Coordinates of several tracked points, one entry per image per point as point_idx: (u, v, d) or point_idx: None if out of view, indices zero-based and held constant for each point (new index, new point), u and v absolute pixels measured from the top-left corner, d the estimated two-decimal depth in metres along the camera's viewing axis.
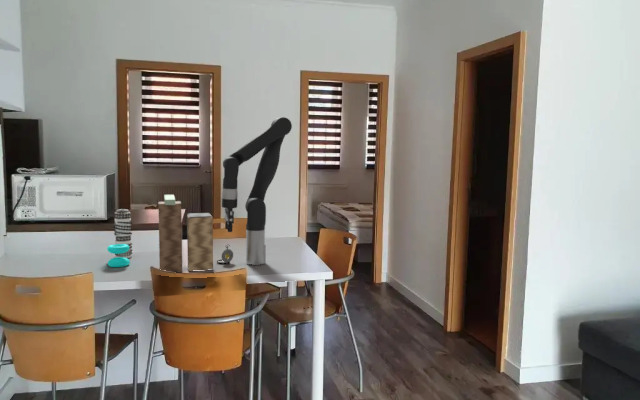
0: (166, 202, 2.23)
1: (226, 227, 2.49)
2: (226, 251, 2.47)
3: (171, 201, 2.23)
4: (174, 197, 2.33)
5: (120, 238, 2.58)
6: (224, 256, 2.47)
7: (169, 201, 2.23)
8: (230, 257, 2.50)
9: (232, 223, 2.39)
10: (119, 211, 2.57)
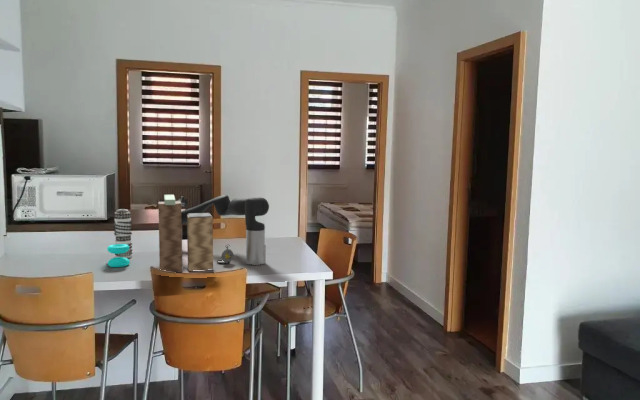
0: (166, 202, 2.23)
1: None
2: (226, 251, 2.47)
3: (171, 201, 2.23)
4: (174, 197, 2.33)
5: (120, 238, 2.58)
6: (224, 256, 2.47)
7: (169, 201, 2.23)
8: (230, 257, 2.50)
9: (186, 202, 2.65)
10: (119, 211, 2.57)
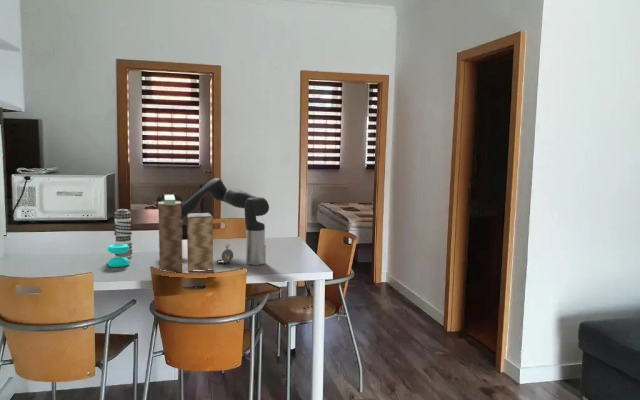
0: (166, 202, 2.23)
1: None
2: (226, 251, 2.47)
3: (171, 201, 2.23)
4: (174, 197, 2.33)
5: (120, 238, 2.58)
6: (224, 256, 2.47)
7: (169, 201, 2.23)
8: (230, 257, 2.50)
9: (179, 200, 2.46)
10: (119, 211, 2.57)
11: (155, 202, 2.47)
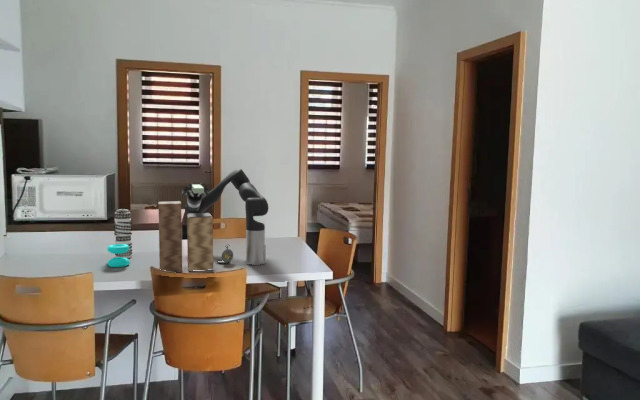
0: (195, 190, 2.35)
1: None
2: (226, 251, 2.47)
3: (200, 189, 2.36)
4: None
5: (120, 238, 2.58)
6: (224, 256, 2.47)
7: (198, 189, 2.36)
8: (230, 257, 2.50)
9: (205, 189, 2.59)
10: (119, 211, 2.57)
11: (182, 192, 2.59)
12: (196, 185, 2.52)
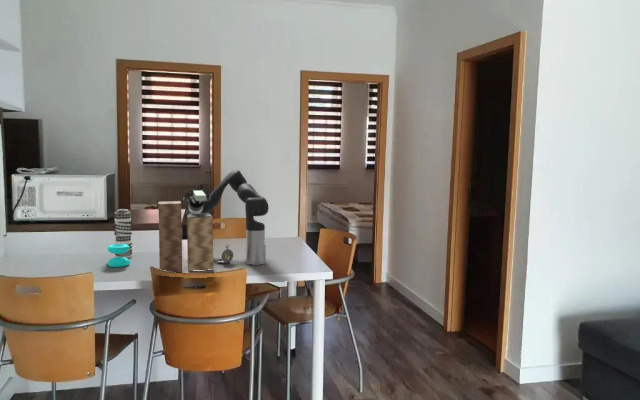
0: (197, 198, 2.25)
1: None
2: (226, 251, 2.47)
3: (202, 197, 2.26)
4: (204, 193, 2.35)
5: (120, 238, 2.58)
6: (224, 256, 2.47)
7: (200, 197, 2.26)
8: (230, 257, 2.50)
9: (207, 196, 2.49)
10: (119, 211, 2.57)
11: (183, 198, 2.49)
12: (198, 191, 2.42)
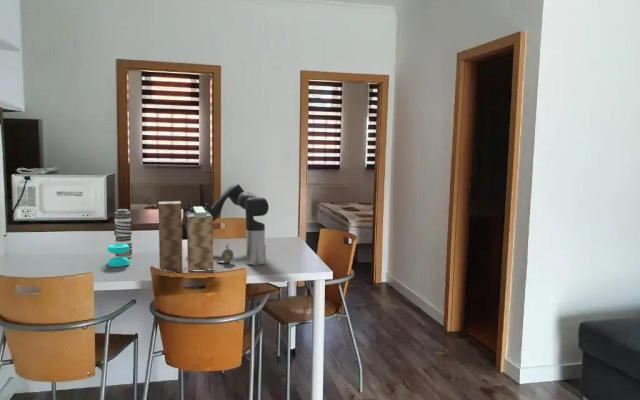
0: (197, 215, 2.26)
1: None
2: (226, 251, 2.47)
3: (202, 214, 2.27)
4: None
5: (120, 238, 2.58)
6: (224, 256, 2.47)
7: (200, 214, 2.26)
8: (230, 257, 2.50)
9: (210, 210, 2.51)
10: (119, 211, 2.57)
11: (183, 213, 2.51)
12: (198, 208, 2.43)
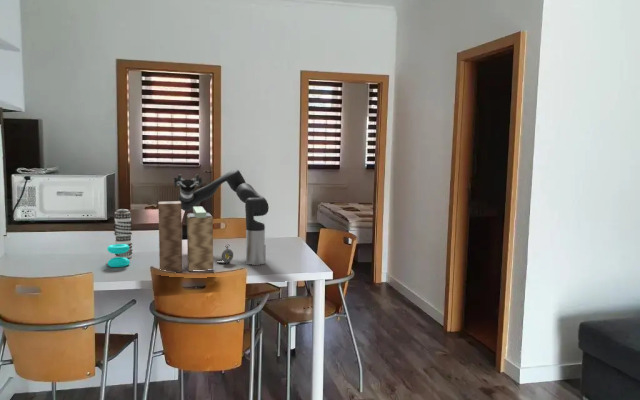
0: (197, 215, 2.26)
1: (180, 175, 2.59)
2: (226, 251, 2.47)
3: (202, 214, 2.27)
4: None
5: (120, 238, 2.58)
6: (224, 256, 2.47)
7: (200, 214, 2.26)
8: (230, 257, 2.50)
9: (201, 181, 2.64)
10: (119, 211, 2.57)
11: None
12: (198, 208, 2.43)
